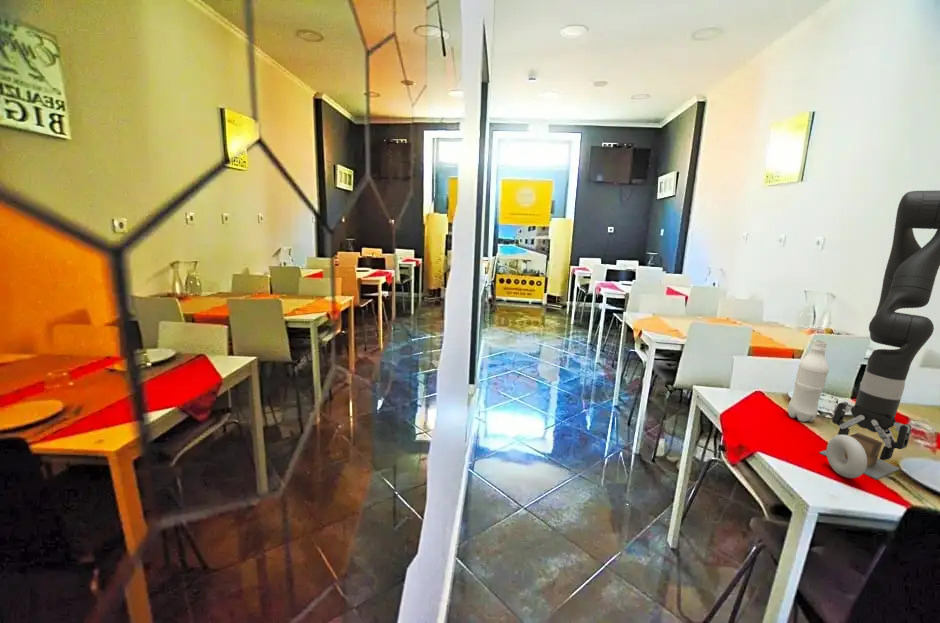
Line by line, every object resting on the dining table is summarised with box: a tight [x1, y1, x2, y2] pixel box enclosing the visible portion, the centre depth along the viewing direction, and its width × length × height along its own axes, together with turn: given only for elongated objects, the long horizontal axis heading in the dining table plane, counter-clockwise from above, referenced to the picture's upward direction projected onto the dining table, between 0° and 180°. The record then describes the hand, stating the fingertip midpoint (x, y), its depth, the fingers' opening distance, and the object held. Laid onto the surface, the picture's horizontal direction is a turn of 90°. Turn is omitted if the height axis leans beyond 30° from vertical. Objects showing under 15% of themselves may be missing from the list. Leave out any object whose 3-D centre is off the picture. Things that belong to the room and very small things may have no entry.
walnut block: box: [844, 432, 884, 467], centre depth 108 cm, size 5×5×6 cm
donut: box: [826, 434, 867, 479], centre depth 101 cm, size 10×4×10 cm, turn 174°
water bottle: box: [787, 339, 830, 423], centre depth 129 cm, size 7×7×25 cm
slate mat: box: [819, 449, 901, 480], centre depth 109 cm, size 12×12×1 cm
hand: (862, 450), depth 108 cm, fingers open, 8 cm apart
